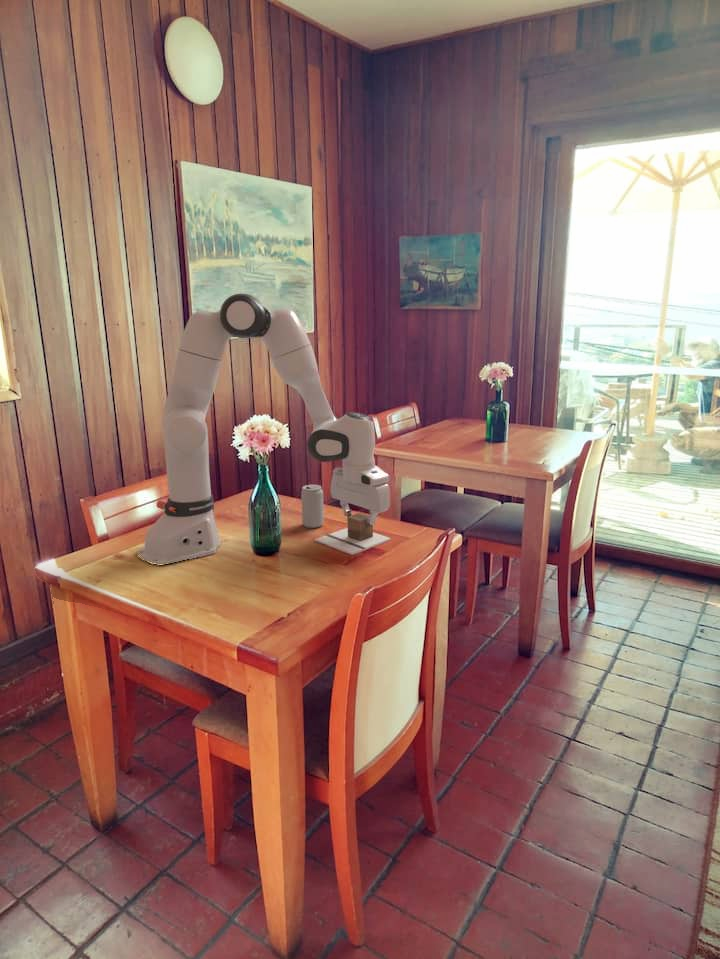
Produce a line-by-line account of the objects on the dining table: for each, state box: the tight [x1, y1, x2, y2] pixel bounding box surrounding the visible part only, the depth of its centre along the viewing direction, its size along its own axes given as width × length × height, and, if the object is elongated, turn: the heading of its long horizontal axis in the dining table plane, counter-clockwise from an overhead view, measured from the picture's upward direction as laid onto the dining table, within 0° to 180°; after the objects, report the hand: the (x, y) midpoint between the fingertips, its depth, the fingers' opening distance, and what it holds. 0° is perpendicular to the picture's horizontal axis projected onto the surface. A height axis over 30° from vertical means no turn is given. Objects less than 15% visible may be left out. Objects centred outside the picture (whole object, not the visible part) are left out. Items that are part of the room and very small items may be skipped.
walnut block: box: [346, 512, 374, 541], centre depth 184 cm, size 5×5×6 cm
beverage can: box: [300, 484, 325, 529], centre depth 195 cm, size 6×6×12 cm
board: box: [314, 527, 392, 556], centre depth 184 cm, size 15×15×1 cm
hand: (359, 519), depth 184 cm, fingers open, 8 cm apart
